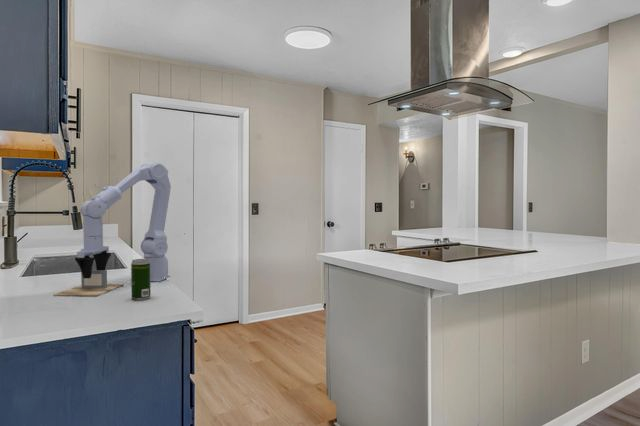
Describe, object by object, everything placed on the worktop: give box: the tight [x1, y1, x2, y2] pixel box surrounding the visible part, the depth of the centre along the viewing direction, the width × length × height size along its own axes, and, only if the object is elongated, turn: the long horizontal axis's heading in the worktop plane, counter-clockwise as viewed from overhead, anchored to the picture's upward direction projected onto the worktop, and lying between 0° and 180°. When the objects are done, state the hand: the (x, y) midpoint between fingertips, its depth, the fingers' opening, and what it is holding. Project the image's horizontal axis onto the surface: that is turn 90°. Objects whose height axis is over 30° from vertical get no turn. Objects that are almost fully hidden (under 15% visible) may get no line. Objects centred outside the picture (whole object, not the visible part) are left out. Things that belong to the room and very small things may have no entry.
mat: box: [52, 283, 124, 298], centre depth 135 cm, size 16×14×1 cm
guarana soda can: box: [130, 258, 151, 301], centre depth 125 cm, size 5×5×12 cm
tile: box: [80, 269, 108, 289], centre depth 137 cm, size 2×8×6 cm, turn 87°
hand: (94, 275), depth 137 cm, fingers open, 7 cm apart
